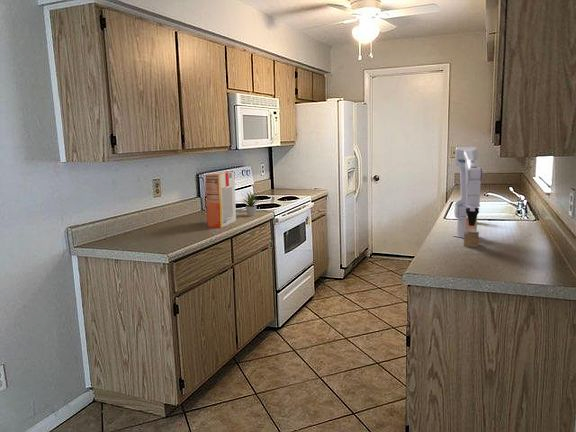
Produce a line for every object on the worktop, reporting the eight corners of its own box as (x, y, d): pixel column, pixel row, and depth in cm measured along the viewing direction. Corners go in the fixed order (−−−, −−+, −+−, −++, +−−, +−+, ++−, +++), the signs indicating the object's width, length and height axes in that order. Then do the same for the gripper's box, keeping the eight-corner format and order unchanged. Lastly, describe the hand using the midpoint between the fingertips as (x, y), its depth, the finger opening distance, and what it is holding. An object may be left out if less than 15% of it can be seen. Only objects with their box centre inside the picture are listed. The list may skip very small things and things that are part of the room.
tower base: (464, 243, 224) (464, 237, 223) (477, 244, 222) (478, 238, 221) (463, 246, 218) (464, 240, 218) (478, 247, 216) (478, 240, 216)
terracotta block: (465, 226, 222) (466, 216, 221) (476, 227, 220) (476, 216, 220) (465, 228, 218) (466, 217, 217) (476, 229, 216) (476, 218, 215)
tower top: (464, 237, 223) (464, 231, 223) (478, 238, 221) (478, 231, 221) (464, 240, 218) (464, 233, 217) (478, 240, 216) (478, 234, 215)
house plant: (268, 214, 313) (268, 189, 310) (254, 218, 302) (253, 192, 299) (252, 213, 321) (251, 188, 319) (238, 216, 311) (237, 190, 308)
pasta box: (223, 220, 297) (221, 171, 292) (236, 220, 294) (234, 171, 289) (207, 227, 275) (205, 174, 270) (220, 227, 273) (218, 174, 268)
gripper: (463, 192, 225) (462, 221, 227) (463, 196, 211) (462, 227, 213) (480, 193, 222) (478, 222, 224) (480, 197, 209) (479, 227, 211)
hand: (471, 224), depth 219 cm, fingers closed on terracotta block, 4 cm apart
